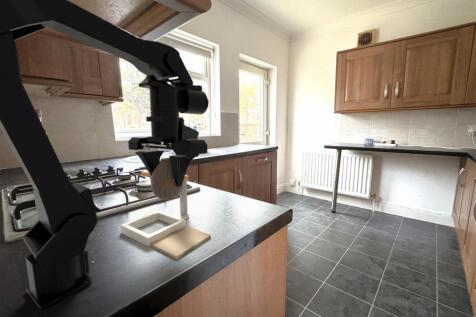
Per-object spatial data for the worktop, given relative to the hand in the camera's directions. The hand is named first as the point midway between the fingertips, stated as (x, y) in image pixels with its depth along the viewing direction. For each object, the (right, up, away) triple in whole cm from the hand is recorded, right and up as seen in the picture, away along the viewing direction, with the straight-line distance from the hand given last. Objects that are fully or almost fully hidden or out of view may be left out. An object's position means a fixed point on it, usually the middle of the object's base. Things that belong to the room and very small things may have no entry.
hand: (167, 183), depth 48 cm
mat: (+2, -13, 0) cm, 13 cm away
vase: (0, -3, +1) cm, 3 cm away
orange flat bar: (-5, 0, +14) cm, 15 cm away
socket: (-3, -12, +7) cm, 14 cm away
